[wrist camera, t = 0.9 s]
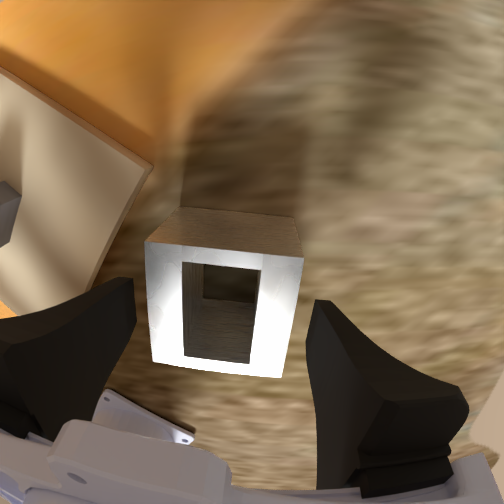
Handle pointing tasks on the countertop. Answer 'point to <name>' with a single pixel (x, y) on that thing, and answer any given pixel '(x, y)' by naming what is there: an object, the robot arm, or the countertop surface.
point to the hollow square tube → (222, 311)
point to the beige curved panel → (56, 198)
